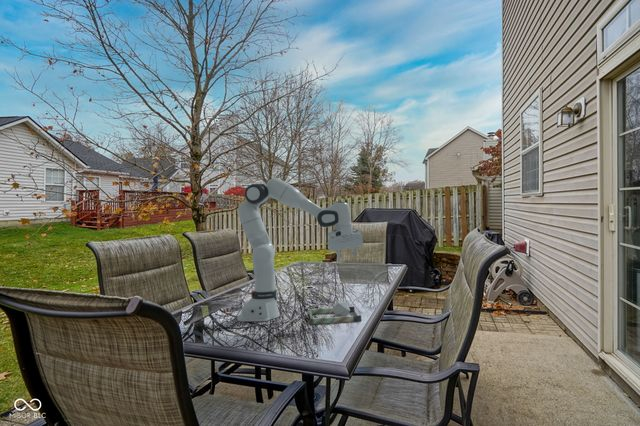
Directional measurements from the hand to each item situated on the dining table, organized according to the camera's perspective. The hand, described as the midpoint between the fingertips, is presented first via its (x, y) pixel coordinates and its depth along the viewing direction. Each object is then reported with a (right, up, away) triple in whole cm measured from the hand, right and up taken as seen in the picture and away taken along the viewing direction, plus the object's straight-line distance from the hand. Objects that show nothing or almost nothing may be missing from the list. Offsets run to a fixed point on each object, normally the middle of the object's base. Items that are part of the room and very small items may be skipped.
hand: (347, 257), depth 187 cm
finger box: (-7, -31, -5) cm, 32 cm away
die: (-3, -31, -5) cm, 31 cm away
